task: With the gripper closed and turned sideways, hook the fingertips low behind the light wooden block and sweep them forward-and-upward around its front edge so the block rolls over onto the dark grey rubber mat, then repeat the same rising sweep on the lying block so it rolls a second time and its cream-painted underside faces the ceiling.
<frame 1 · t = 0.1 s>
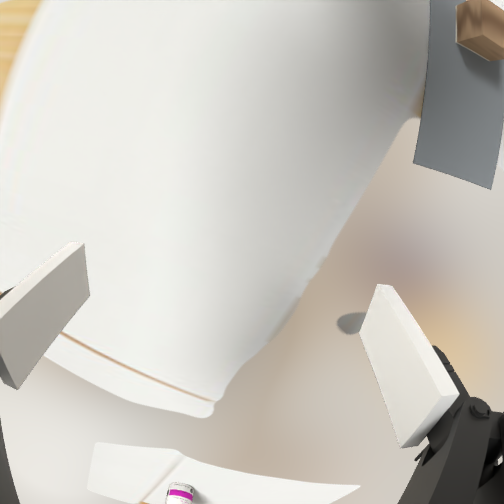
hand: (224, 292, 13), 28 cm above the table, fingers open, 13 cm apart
rubber mat: (470, 83, 31), on the table
supplement can: (181, 485, 76), on the table
light wooden block: (473, 33, 27), resting on rubber mat
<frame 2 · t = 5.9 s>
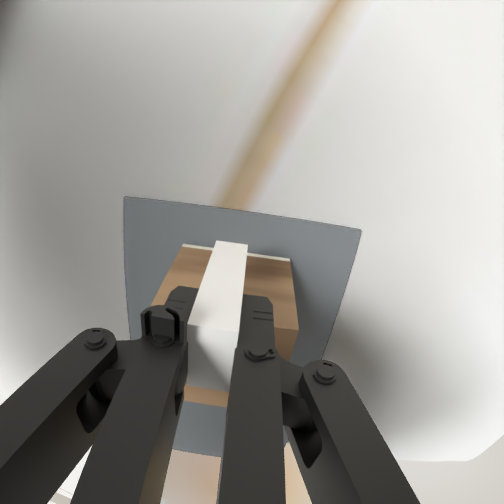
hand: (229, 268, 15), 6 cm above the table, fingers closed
rubber mat: (221, 377, 26), on the table
light wooden block: (230, 295, 22), point 1 cm above the table, touching gripper, rubber mat
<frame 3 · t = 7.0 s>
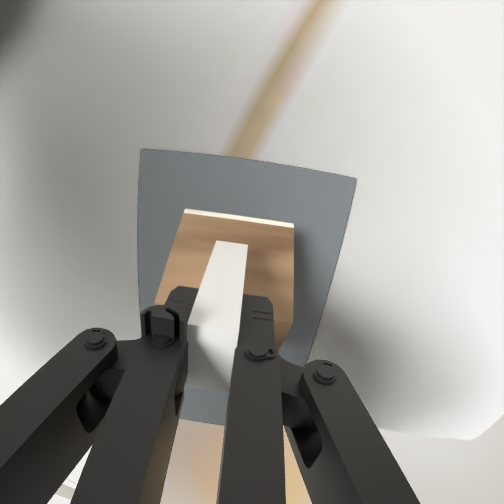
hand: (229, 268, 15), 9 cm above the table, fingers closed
rubber mat: (225, 330, 27), on the table
light wooden block: (235, 251, 22), point 2 cm above the table, tilted 26°, touching gripper, rubber mat
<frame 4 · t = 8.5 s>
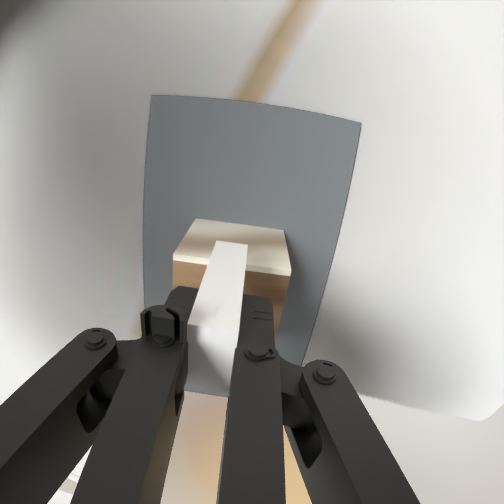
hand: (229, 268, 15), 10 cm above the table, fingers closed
rubber mat: (232, 283, 27), on the table
light wooden block: (236, 240, 21), point 4 cm above the table, tilted 90°, touching rubber mat
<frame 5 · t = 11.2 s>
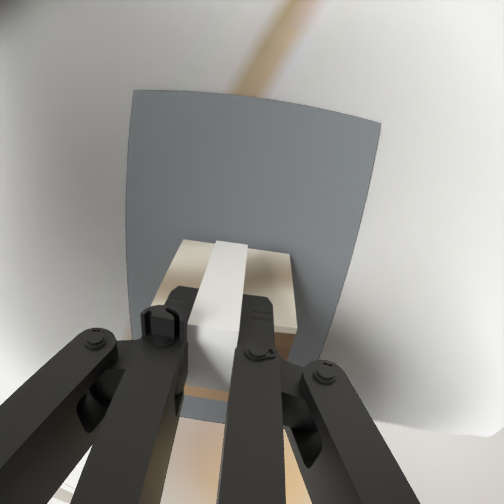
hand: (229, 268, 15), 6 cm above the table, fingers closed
rubber mat: (228, 307, 23), on the table
light wooden block: (230, 276, 17), point 5 cm above the table, tilted 96°, touching gripper, rubber mat
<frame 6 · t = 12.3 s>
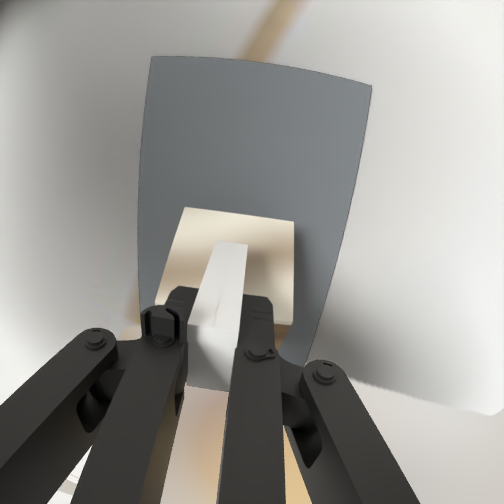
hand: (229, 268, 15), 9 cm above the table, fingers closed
rubber mat: (234, 257, 25), on the table
light wooden block: (231, 257, 17), point 7 cm above the table, tilted 118°, touching gripper, rubber mat
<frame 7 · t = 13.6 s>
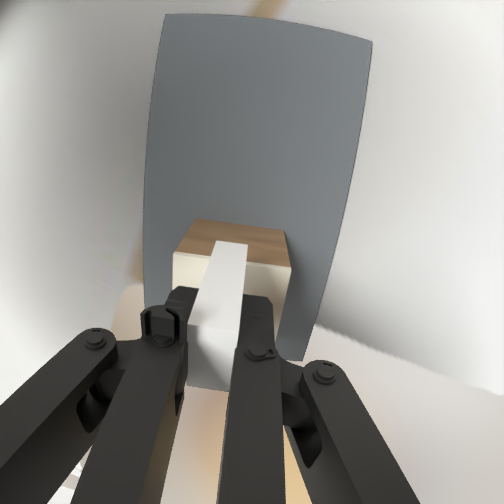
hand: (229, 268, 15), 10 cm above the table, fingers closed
rubber mat: (242, 204, 24), on the table
light wooden block: (226, 311, 19), point 7 cm above the table, tilted 180°, touching rubber mat
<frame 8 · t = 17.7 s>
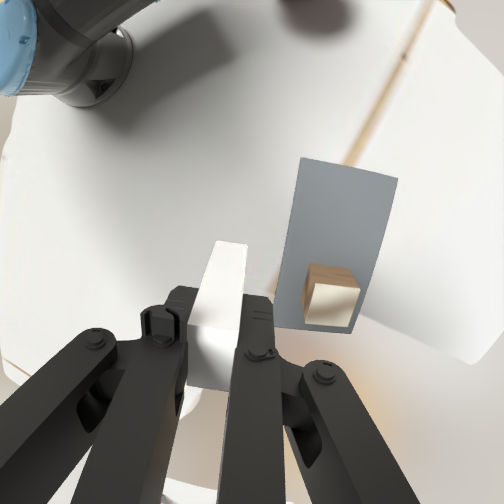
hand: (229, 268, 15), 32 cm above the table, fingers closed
rubber mat: (331, 257, 50), on the table
light wooden block: (332, 307, 45), point 7 cm above the table, tilted 180°, touching rubber mat
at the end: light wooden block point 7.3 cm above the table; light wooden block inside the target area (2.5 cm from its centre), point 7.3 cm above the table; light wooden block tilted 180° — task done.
